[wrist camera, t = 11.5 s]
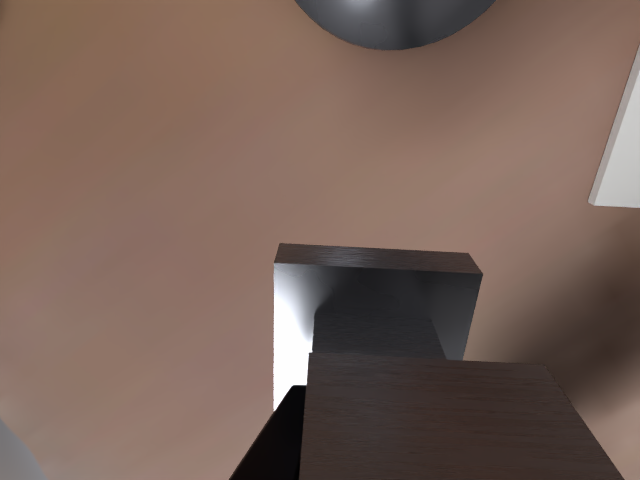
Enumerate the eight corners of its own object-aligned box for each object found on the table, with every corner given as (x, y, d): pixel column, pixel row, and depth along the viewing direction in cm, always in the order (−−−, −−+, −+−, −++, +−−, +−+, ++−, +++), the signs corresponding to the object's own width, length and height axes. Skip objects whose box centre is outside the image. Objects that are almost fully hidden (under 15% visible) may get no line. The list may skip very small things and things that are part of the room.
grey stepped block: (428, 437, 12) (541, 877, 5) (278, 429, 12) (217, 857, 6) (477, 212, 9) (828, 583, 3) (279, 202, 9) (156, 545, 3)
